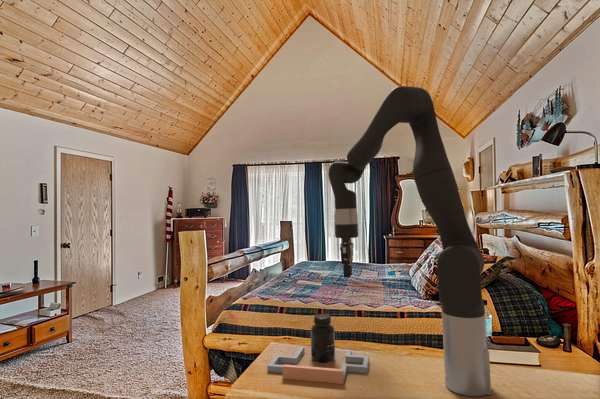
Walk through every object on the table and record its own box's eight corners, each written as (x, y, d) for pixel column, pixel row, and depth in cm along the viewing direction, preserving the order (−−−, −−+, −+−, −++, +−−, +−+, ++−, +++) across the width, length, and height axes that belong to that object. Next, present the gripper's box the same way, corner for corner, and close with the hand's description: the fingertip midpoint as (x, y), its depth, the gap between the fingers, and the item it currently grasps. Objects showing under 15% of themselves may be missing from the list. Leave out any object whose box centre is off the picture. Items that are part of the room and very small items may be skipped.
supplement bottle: (334, 364, 98) (333, 319, 98) (310, 363, 99) (308, 319, 99) (335, 354, 105) (334, 313, 105) (312, 353, 106) (311, 312, 106)
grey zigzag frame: (369, 356, 102) (369, 345, 103) (365, 386, 85) (364, 373, 85) (284, 350, 109) (284, 340, 109) (263, 376, 91) (263, 364, 92)
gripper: (355, 223, 108) (357, 280, 107) (359, 222, 121) (361, 273, 121) (331, 223, 110) (332, 280, 109) (338, 222, 123) (339, 272, 122)
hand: (347, 276), depth 115 cm, fingers open, 3 cm apart
